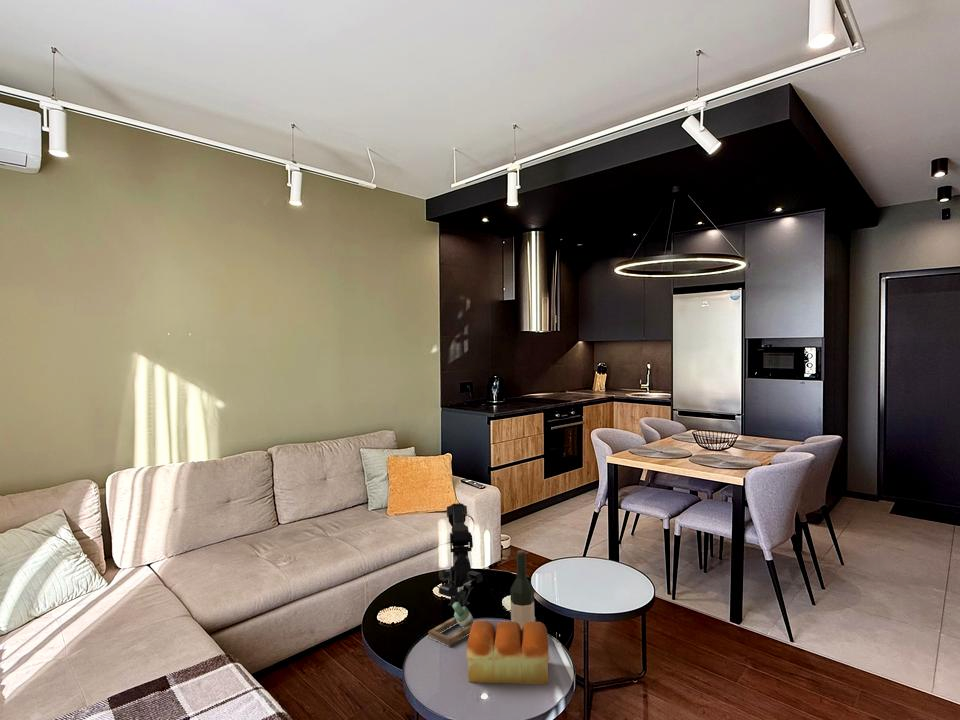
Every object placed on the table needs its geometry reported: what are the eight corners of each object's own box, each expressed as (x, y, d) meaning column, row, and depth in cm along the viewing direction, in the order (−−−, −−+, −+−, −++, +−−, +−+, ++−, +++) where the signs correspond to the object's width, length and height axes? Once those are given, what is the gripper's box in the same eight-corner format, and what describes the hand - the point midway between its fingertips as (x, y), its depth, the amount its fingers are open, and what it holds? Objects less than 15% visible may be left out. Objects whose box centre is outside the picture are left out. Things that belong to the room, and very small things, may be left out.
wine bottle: (534, 630, 190) (532, 547, 191) (535, 642, 182) (532, 555, 183) (511, 630, 191) (509, 547, 192) (511, 641, 183) (508, 555, 184)
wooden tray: (455, 622, 198) (455, 616, 198) (476, 630, 191) (476, 623, 191) (428, 638, 187) (428, 631, 187) (449, 647, 180) (449, 639, 180)
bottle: (465, 613, 199) (454, 596, 194) (476, 617, 195) (465, 600, 191) (457, 626, 195) (446, 609, 191) (468, 630, 192) (457, 614, 187)
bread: (548, 662, 170) (546, 616, 170) (549, 685, 157) (548, 635, 158) (471, 660, 172) (470, 614, 172) (467, 683, 160) (466, 633, 160)
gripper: (461, 552, 206) (462, 592, 205) (427, 566, 191) (428, 610, 191) (483, 558, 199) (484, 599, 198) (449, 573, 184) (450, 618, 184)
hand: (461, 606), depth 193 cm, fingers closed
